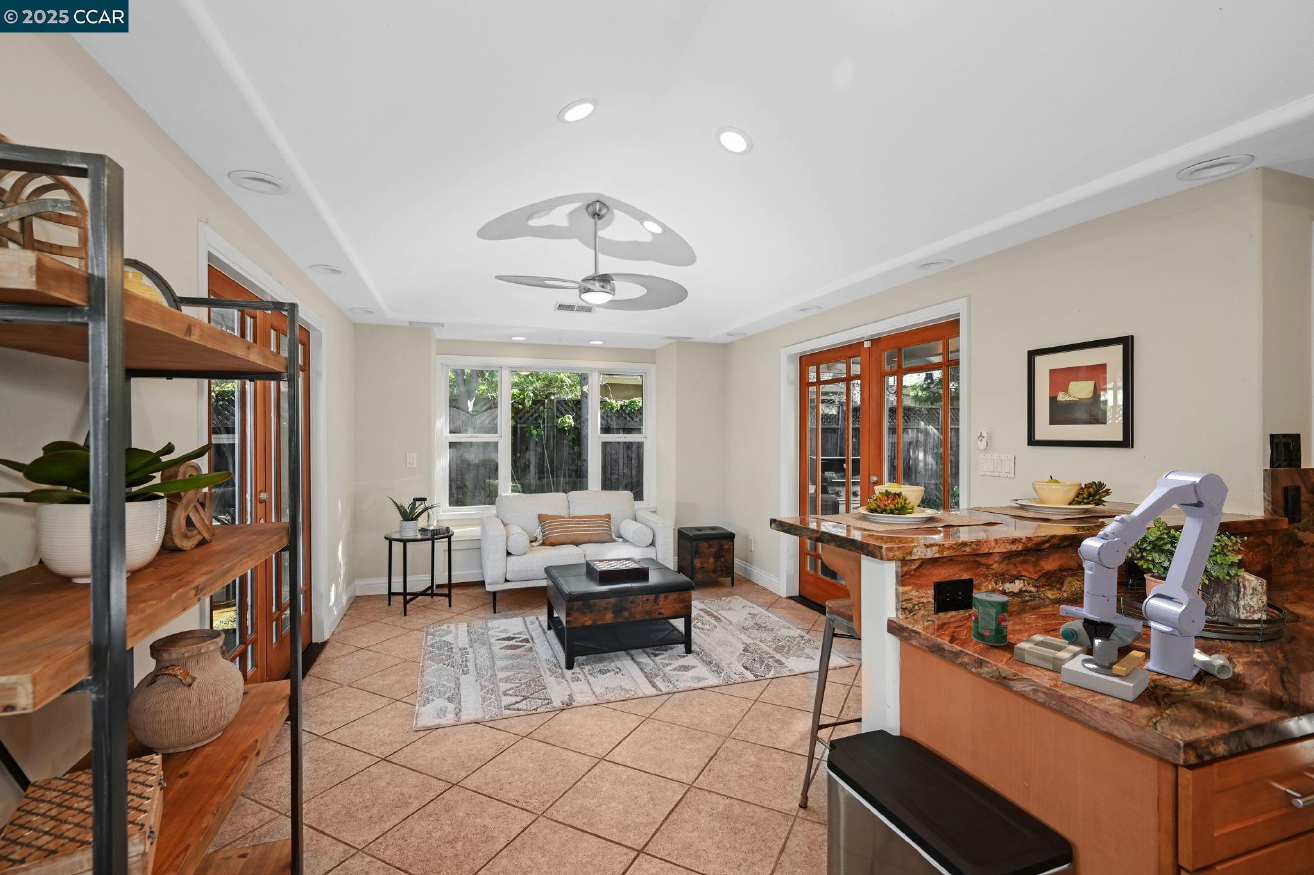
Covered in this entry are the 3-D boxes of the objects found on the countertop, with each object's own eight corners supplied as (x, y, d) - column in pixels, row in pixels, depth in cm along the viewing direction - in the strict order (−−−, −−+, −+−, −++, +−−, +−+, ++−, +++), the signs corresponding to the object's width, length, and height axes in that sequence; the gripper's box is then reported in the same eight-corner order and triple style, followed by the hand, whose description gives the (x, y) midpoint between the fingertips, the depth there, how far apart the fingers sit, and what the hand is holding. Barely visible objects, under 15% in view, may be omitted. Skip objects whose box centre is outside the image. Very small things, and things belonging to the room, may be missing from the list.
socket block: (1080, 667, 135) (1080, 653, 134) (1148, 685, 125) (1148, 671, 125) (1061, 680, 127) (1061, 666, 127) (1131, 701, 118) (1132, 686, 118)
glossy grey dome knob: (1088, 672, 132) (1089, 631, 132) (1133, 684, 126) (1134, 641, 125) (1075, 681, 127) (1076, 638, 127) (1122, 695, 120) (1123, 650, 120)
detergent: (1093, 631, 158) (1033, 638, 147) (1097, 605, 158) (1038, 609, 147) (1151, 653, 146) (1091, 661, 136) (1156, 624, 146) (1097, 630, 135)
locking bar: (1133, 655, 131) (1133, 650, 131) (1145, 658, 130) (1145, 652, 130) (1112, 672, 122) (1112, 666, 122) (1124, 675, 120) (1124, 669, 120)
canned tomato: (1012, 646, 147) (1013, 601, 146) (977, 643, 148) (978, 599, 148) (1001, 635, 154) (1002, 592, 154) (967, 633, 156) (968, 590, 156)
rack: (1037, 645, 148) (1037, 633, 147) (1085, 658, 140) (1085, 645, 140) (1013, 659, 139) (1014, 646, 139) (1064, 673, 131) (1064, 659, 131)
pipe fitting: (1217, 668, 137) (1185, 664, 137) (1219, 651, 137) (1187, 647, 137) (1248, 683, 129) (1214, 678, 129) (1250, 665, 129) (1216, 660, 129)
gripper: (1055, 589, 135) (1053, 649, 135) (1136, 604, 124) (1134, 670, 124) (1066, 584, 139) (1065, 642, 140) (1145, 598, 128) (1143, 662, 128)
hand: (1098, 655), depth 132 cm, fingers closed
